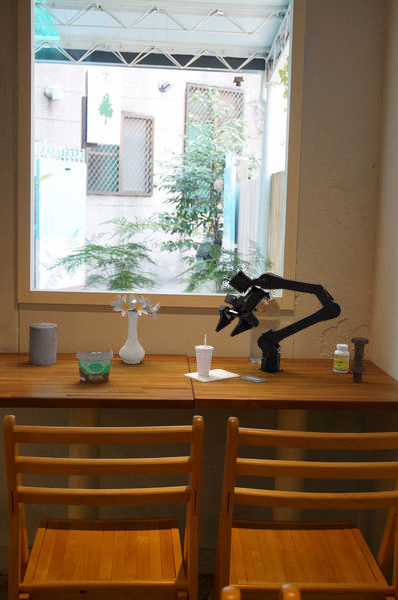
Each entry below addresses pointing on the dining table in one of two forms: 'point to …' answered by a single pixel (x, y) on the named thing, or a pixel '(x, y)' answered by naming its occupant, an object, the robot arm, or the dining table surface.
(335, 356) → the supplement bottle
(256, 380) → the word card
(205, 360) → the smoothie
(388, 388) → the dining table surface
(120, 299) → the flower vase
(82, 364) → the food container
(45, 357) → the pillar candle
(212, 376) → the paper
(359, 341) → the bolt
